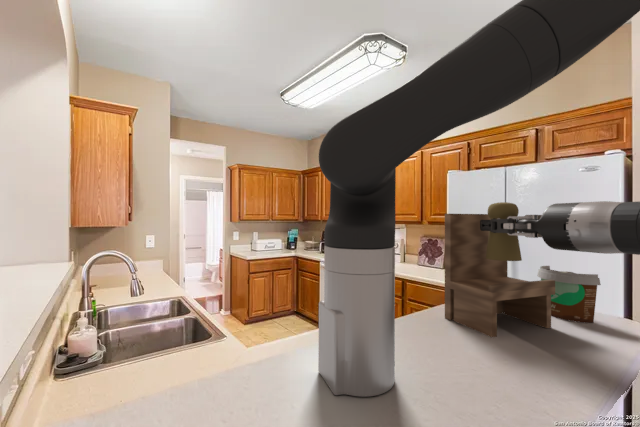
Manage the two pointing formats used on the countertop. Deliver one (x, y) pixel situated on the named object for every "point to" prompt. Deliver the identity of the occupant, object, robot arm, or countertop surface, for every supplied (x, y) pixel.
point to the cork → (503, 235)
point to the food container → (572, 294)
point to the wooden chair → (486, 281)
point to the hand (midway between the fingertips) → (490, 225)
